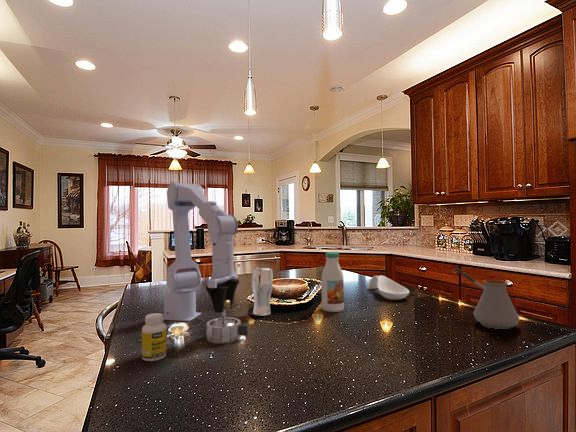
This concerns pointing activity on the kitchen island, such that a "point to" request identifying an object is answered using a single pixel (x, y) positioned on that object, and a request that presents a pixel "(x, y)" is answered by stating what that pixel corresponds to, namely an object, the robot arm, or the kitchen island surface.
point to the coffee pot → (494, 305)
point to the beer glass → (262, 290)
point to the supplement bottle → (154, 338)
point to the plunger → (224, 317)
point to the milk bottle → (332, 284)
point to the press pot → (226, 331)
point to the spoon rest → (388, 288)
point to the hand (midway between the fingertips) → (223, 308)
